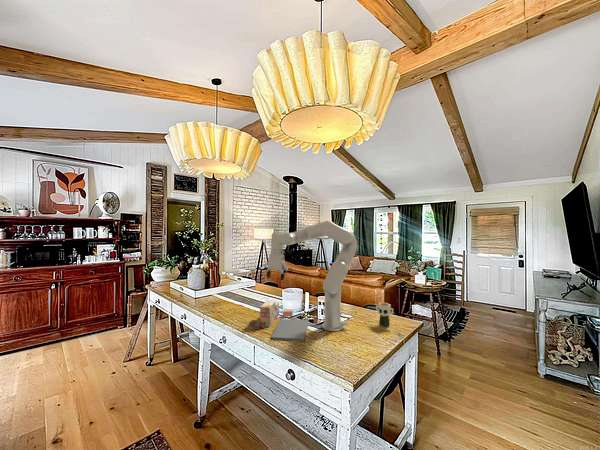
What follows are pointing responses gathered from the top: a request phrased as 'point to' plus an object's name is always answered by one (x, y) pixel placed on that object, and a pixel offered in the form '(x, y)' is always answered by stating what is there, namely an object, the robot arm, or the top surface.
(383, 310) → the beige and green figurine
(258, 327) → the walnut brick
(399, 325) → the top surface
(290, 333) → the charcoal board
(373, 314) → the top surface
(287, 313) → the terracotta brick
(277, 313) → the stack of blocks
